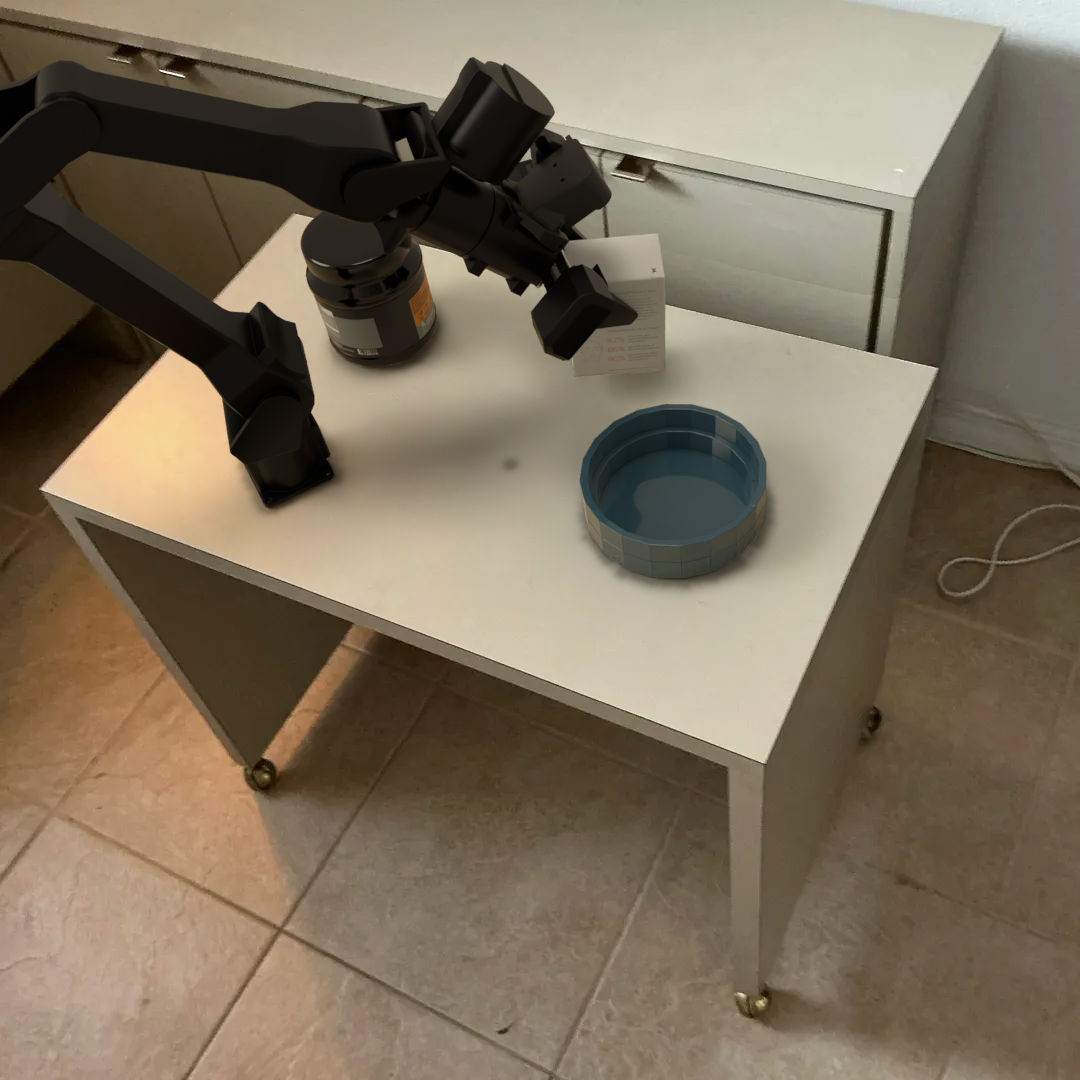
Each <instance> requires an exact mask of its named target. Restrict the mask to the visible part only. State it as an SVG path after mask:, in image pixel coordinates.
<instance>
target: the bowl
mask: <svg viewBox="0 0 1080 1080" xmlns="http://www.w3.org/2000/svg"><path fill="white" fill-rule="evenodd" d="M763 452H764V451H763V450H762V448H761V445H760V443H759V441H758V440H757V438H755V436H754V435H753V434H752V433H751V432H750V431H749V430H748V429H747V428H746V426H744V425H743V424H742V423H741V422H739V421H737V420H736V419H734V418H732V417H731V416H728V415H727V414H726V413H723V412H721V411H719V410H716V409H713V408H708V407H705V406H701V405H697V404H693V403H662V404H658V405H653V406H650V407H645V408H640V409H636V410H634V411H633V412H630V413H628V414H626V415H624V416H622V417H620V418H617V419H616V420H614V421H613V422H611V423H610V424H609V425H608V426H607V427H606V428H605V429H603V430H602V431H601V432H600V433H599V434H598V435H597V436H595V437H594V438H593V440H592V442H591V443H590V446H589V447H588V449H587V450H586V451H585V454H584V455H583V457H582V461H581V467H580V472H579V473H580V474H579V487H580V493H581V500H582V506H583V512H584V516H585V517H584V518H585V520H586V524H587V525H586V526H587V528H588V532H589V535H590V537H591V538H592V540H593V541H594V543H595V544H596V545H597V546H598V548H599V550H601V551H602V553H603V554H604V555H605V556H606V557H608V558H610V559H611V560H612V561H614V562H615V563H616V564H618V565H620V566H621V567H622V568H623V569H626V570H629V571H631V572H634V573H638V574H641V575H644V576H646V577H650V578H656V579H658V578H659V579H687V578H692V577H696V576H700V575H705V574H710V573H713V572H715V571H717V570H718V569H721V568H723V567H725V566H726V565H728V564H730V563H732V562H733V561H735V560H737V559H738V558H739V557H740V556H741V555H742V554H743V553H744V552H745V551H746V550H747V549H748V548H749V547H750V546H751V545H752V544H753V543H754V542H755V540H756V538H757V536H758V534H759V532H760V529H761V527H762V525H763V523H764V521H765V518H766V517H765V515H766V497H767V496H766V495H767V469H768V468H767V467H768V466H767V465H768V463H767V460H766V457H765V455H764V453H763Z"/></svg>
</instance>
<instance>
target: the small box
mask: <svg viewBox="0 0 1080 1080" xmlns="http://www.w3.org/2000/svg"><path fill="white" fill-rule="evenodd" d="M660 239H661V238H660V234H659V233H658V232H656V233H655V232H654V233H646V234H645V233H644V234H633V235H632V234H631V235H623V236H622V235H621V236H610V237H598V238H587V239H585V240H573V241H569V242H568V243H567V245H566V246H565V247H564V253H565V255H566V257H567V259H568V261H569V263H570V265H571V267H572V266H574V265H576V266H577V265H581V264H583V265H585V266H587V267H589V268H591V269H593V267H594V266H595V265H596V264H598V265H599V267H600V269H601V271H602V273H603V275H604V277H605V279H606V281H607V283H608V288H609V291H610V292H611V293H612V294H614V295H615V296H617V297H618V298H619V299H621V300H622V301H623V302H625V303H626V304H627V305H629V306H630V307H631V308H632V309H634V310H635V311H636V312H637V314H638V317H637V318H636V320H635V321H634V322H633V323H632V324H630V325H624V326H617V327H609V328H601V329H596V330H595V331H594V332H593V334H592V335H591V336H590V337H589V338H588V339H587V341H586V342H585V343H584V344H583V345H582V346H581V348H580V349H579V350H578V351H577V352H576V353H575V355H574V356H573V357H572V358H571V360H572V361H571V362H572V372H573V377H574V378H584V377H585V378H586V377H599V376H611V375H621V374H622V375H624V374H637V373H638V374H639V373H649V372H661V371H662V372H663V371H665V370H666V300H667V299H666V298H667V297H666V294H667V293H666V286H667V285H666V284H667V283H666V281H667V280H666V274H665V273H666V272H665V266H664V260H663V254H662V247H661V240H660Z"/></svg>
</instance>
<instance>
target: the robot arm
mask: <svg viewBox="0 0 1080 1080" xmlns="http://www.w3.org/2000/svg"><path fill="white" fill-rule="evenodd" d="M555 114H556V111H555V108H554V106H553V104H552V102H551V101H550V100H549V98H548V97H547V96H546V95H545V94H544V93H543V91H541V89H540V88H539V87H537V86H536V85H535V84H534V83H533V82H532V81H531V80H530V79H528V78H527V77H526V76H525V75H523V74H522V73H521V72H519V71H518V70H517V69H515V68H514V67H512V66H510V65H509V64H507V63H503V64H501V63H498V62H496V61H492V60H487V61H486V62H483V61H482V60H480V59H478V58H476V57H474V56H472V57H469V58H468V59H467V61H466V62H465V64H464V65H463V67H462V68H461V70H460V72H459V74H458V77H457V79H456V82H455V84H454V85H453V87H452V88H451V90H450V92H449V94H448V95H447V96H446V97H445V99H444V100H443V102H442V103H441V105H440V106H439V108H438V110H437V111H436V112H435V114H434V115H433V114H432V113H431V110H430V107H429V105H428V104H427V103H426V102H425V101H420V102H411V103H405V104H404V103H403V104H397V105H389V106H381V107H380V106H379V107H372V106H369V105H367V104H364V103H357V102H339V101H337V102H336V101H321V100H320V101H318V100H316V101H310V102H305V103H302V104H298V105H293V106H290V107H286V108H285V107H284V108H283V107H267V106H262V105H257V104H253V103H248V102H243V101H238V100H235V99H234V100H233V99H229V98H225V97H219V96H215V95H210V94H205V93H200V92H195V91H190V90H186V89H182V88H176V87H172V86H167V85H162V84H157V83H152V82H148V81H144V80H138V79H133V78H129V77H124V76H119V75H115V74H110V73H105V72H100V71H95V70H92V69H89V68H87V67H86V66H85V65H83V64H80V63H78V62H75V61H73V60H57V61H54V62H52V63H49V64H47V65H45V66H44V67H42V68H41V69H39V70H37V71H36V72H34V73H32V74H31V75H29V76H28V77H25V78H21V79H19V80H15V81H12V82H7V83H3V84H0V260H2V261H11V262H21V263H26V264H29V265H31V266H33V267H35V268H36V269H39V270H40V271H42V272H44V273H45V274H47V276H50V277H51V278H53V279H54V280H56V281H58V282H60V283H61V284H63V285H65V286H66V287H67V288H69V289H71V290H73V291H74V292H76V293H78V294H79V295H81V296H82V297H84V298H86V299H87V300H89V301H91V302H92V303H94V304H96V305H97V306H99V307H100V308H102V309H103V310H105V311H106V312H108V313H110V314H112V315H113V316H115V317H116V318H118V319H120V320H121V321H123V322H124V323H126V324H128V325H129V326H131V327H133V328H134V329H136V330H138V331H139V332H141V333H142V334H144V335H146V336H147V337H149V338H150V339H152V340H154V341H156V342H157V343H159V344H160V345H161V346H164V347H165V348H167V349H168V350H170V351H172V352H173V353H175V354H176V355H178V356H180V357H181V358H183V359H184V360H186V361H188V362H189V363H190V364H193V365H194V366H196V367H197V368H198V369H199V370H200V371H201V372H202V373H203V375H204V376H205V377H206V379H207V380H208V381H209V383H210V384H211V386H212V387H213V388H214V389H215V391H216V392H217V394H218V395H219V396H220V397H221V401H222V409H223V415H224V423H225V429H226V435H227V436H226V437H227V442H228V447H229V453H230V454H231V455H232V456H233V457H234V458H236V459H237V460H238V461H239V462H240V463H242V464H243V465H244V468H245V470H246V472H247V473H248V475H249V477H250V479H251V482H252V483H253V486H254V488H255V490H256V493H257V494H258V496H259V498H260V500H261V502H262V504H263V506H264V507H265V508H267V509H271V508H273V507H276V506H278V505H280V504H282V503H285V502H286V501H289V500H290V499H293V498H295V497H297V496H299V495H301V494H303V493H306V492H307V491H310V490H311V489H314V488H316V487H318V486H320V485H323V484H324V483H327V482H329V481H330V480H332V479H334V477H335V471H334V469H333V467H332V466H331V464H330V461H329V460H328V459H329V458H330V457H331V455H332V453H331V452H330V451H331V450H330V449H329V446H328V444H327V442H326V439H325V437H324V435H323V433H322V431H321V428H320V426H319V423H318V421H317V420H316V418H315V417H314V415H313V413H312V412H313V410H314V407H315V402H316V400H315V398H316V397H315V396H316V395H315V392H314V387H313V383H312V379H311V374H310V369H309V365H308V360H307V356H306V351H305V348H304V347H305V346H304V343H303V340H302V339H301V337H300V336H299V334H298V328H297V325H296V324H297V323H296V322H293V321H290V320H286V319H284V318H282V317H280V316H278V315H277V314H276V313H275V312H273V310H272V309H270V307H268V305H266V304H265V303H264V302H262V301H257V302H256V303H255V304H254V306H253V307H252V308H251V309H250V310H249V312H246V311H245V312H244V311H231V310H228V309H227V308H225V307H224V308H223V307H222V306H220V305H219V304H217V303H216V302H215V301H213V300H212V299H210V298H209V297H207V296H206V295H204V294H203V293H201V291H198V289H197V290H196V289H195V288H194V287H192V286H191V285H190V284H188V283H186V282H185V281H184V280H182V279H181V278H179V277H178V276H176V275H174V274H173V273H172V272H171V271H169V270H167V269H166V268H164V267H163V266H161V265H160V264H158V263H157V262H155V261H154V260H152V259H151V258H149V257H148V256H147V255H145V254H144V253H142V252H140V251H139V250H138V249H136V248H135V247H134V246H132V245H130V244H129V243H127V242H126V241H125V240H123V239H122V238H120V237H119V236H117V235H115V234H114V233H113V232H111V231H109V230H108V229H106V228H105V227H103V226H102V225H101V224H99V223H98V222H97V221H95V220H93V219H92V218H90V217H89V216H87V214H84V213H83V211H82V212H81V211H80V210H78V209H77V208H76V207H74V206H73V205H71V204H70V203H68V202H67V201H66V200H65V199H64V198H63V197H62V196H61V195H60V194H59V193H58V191H57V190H56V189H55V187H54V186H53V184H52V183H51V181H52V180H54V178H56V176H57V175H58V174H59V173H60V172H61V171H63V169H64V168H65V167H66V166H67V165H68V164H70V163H71V162H73V161H75V160H77V159H79V158H80V157H82V156H83V155H85V154H87V153H88V152H90V153H91V152H92V153H96V154H102V155H103V154H104V155H107V156H114V157H118V158H119V157H120V158H124V159H130V160H135V161H141V162H147V163H152V164H158V165H164V166H169V167H175V168H179V169H180V168H181V169H185V170H191V171H195V172H196V171H197V172H202V173H209V174H214V175H218V176H225V177H230V178H236V179H242V180H247V181H252V182H258V183H263V184H265V185H266V184H267V185H269V186H272V187H275V188H278V189H280V190H283V191H284V192H286V193H288V194H289V195H291V196H292V197H294V198H295V199H297V200H298V201H300V202H302V203H303V204H305V205H307V206H308V207H310V208H311V209H314V210H317V211H320V212H326V213H329V214H331V215H334V216H337V217H340V218H343V219H346V220H349V221H353V222H357V223H373V225H374V226H375V228H376V229H377V232H378V235H379V238H380V241H381V245H382V248H383V251H384V253H386V254H388V255H389V254H392V253H393V252H394V250H395V249H396V248H397V246H398V245H399V243H400V242H401V240H402V239H403V238H404V236H405V235H406V233H407V232H408V233H410V234H411V235H412V236H414V237H417V238H418V239H421V240H424V241H425V242H428V243H429V244H431V245H433V246H436V247H438V248H439V249H440V248H441V250H444V251H446V252H449V253H450V254H453V255H455V256H457V257H459V258H462V260H463V262H464V265H465V267H466V270H467V272H468V273H469V274H472V275H473V276H476V277H477V278H479V277H481V275H482V274H483V272H484V271H485V270H487V271H489V272H491V273H494V274H495V275H497V276H501V277H502V278H503V279H505V282H506V284H507V286H508V288H509V291H510V293H513V294H514V295H517V296H518V297H522V295H523V294H524V293H525V292H526V290H527V289H528V288H529V287H530V285H532V286H534V287H535V288H536V289H540V288H541V287H542V286H544V288H545V294H544V295H543V296H542V297H541V298H540V299H539V301H538V302H537V303H536V305H535V306H534V307H533V308H532V309H531V311H530V316H531V322H532V323H531V324H532V327H533V329H534V332H535V333H536V336H537V338H538V340H539V343H540V345H541V347H542V350H543V352H544V354H546V355H549V356H550V357H552V358H555V359H558V360H560V361H562V362H565V361H567V362H568V361H571V360H572V357H573V356H574V355H575V353H576V352H577V351H578V350H579V349H580V348H581V346H582V345H583V344H584V343H585V342H586V341H587V339H588V338H589V337H590V336H591V335H592V334H593V332H594V331H595V330H596V329H601V328H609V327H617V326H624V325H630V324H632V323H633V322H634V321H635V320H636V318H637V317H638V314H637V312H636V311H635V310H634V309H632V308H631V307H630V306H629V305H627V304H626V303H625V302H623V301H622V300H621V299H619V298H618V297H617V296H615V295H614V294H612V293H611V292H610V291H609V288H608V283H607V281H606V279H605V277H604V275H603V273H602V271H601V269H600V267H599V265H598V264H596V265H595V266H594V267H593V269H591V268H589V267H587V266H585V265H583V264H581V265H577V266H576V265H574V266H572V267H571V265H570V263H569V261H568V259H567V257H566V255H565V253H564V247H565V246H566V245H567V243H568V242H569V241H573V240H585V239H588V238H587V237H586V236H585V235H584V234H583V233H582V232H581V231H580V230H579V229H578V228H577V227H576V225H577V224H578V223H580V221H582V220H584V219H585V218H587V217H588V216H589V215H591V214H592V213H594V212H595V211H599V210H602V209H603V208H604V207H606V206H607V205H608V204H609V202H611V199H612V196H613V193H612V190H611V188H610V187H609V185H608V183H607V182H606V180H605V178H604V176H603V174H602V172H601V170H600V169H599V168H598V166H597V165H596V163H595V162H594V160H593V159H592V157H591V155H590V154H589V153H588V151H587V150H586V148H585V147H584V146H583V144H582V143H581V142H580V140H579V139H578V138H573V137H572V136H571V134H567V135H566V136H565V137H564V136H563V135H561V134H559V133H558V132H555V131H552V130H550V129H548V128H546V127H547V125H548V124H549V123H550V121H551V120H552V119H553V118H554V116H555ZM404 139H406V141H407V144H408V147H409V149H410V150H409V151H410V152H411V155H412V158H413V159H411V160H405V161H404V159H403V157H402V153H401V152H400V149H399V146H398V142H400V141H402V140H404ZM529 150H530V159H526V160H523V159H524V157H525V156H526V154H527V153H528V152H529ZM522 160H523V161H522Z"/></svg>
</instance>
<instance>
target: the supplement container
mask: <svg viewBox="0 0 1080 1080" xmlns="http://www.w3.org/2000/svg"><path fill="white" fill-rule="evenodd" d="M299 244H300V250H301V254H302V256H303V258H304V261H305V263H306V267H305V268H306V269H305V278H306V283H307V285H308V288H309V290H310V292H311V293H312V296H313V297H314V300H315V302H316V305H317V308H318V311H319V314H320V316H321V319H322V321H323V324H324V327H325V329H326V332H327V336H328V339H329V340H328V341H329V343H330V345H331V347H332V348H333V350H334V351H335V353H337V355H339V357H340V358H342V359H343V360H345V361H346V362H348V363H350V364H353V365H356V366H359V367H363V368H384V367H389V366H393V365H397V364H400V363H402V362H405V361H407V360H409V359H411V358H413V357H415V356H416V355H417V354H419V353H420V352H421V351H423V349H425V347H427V345H428V344H429V343H430V341H432V339H433V337H434V335H435V333H436V330H437V327H438V320H439V319H438V318H439V317H438V310H437V306H436V304H435V301H434V299H433V295H432V291H431V287H430V283H429V280H428V276H427V272H426V269H425V264H424V257H423V256H424V255H423V252H422V251H423V250H422V247H421V245H420V243H419V242H418V240H417V239H416V238H415V236H414V235H412V234H410V233H408V232H407V233H406V235H405V236H404V238H403V239H402V240H401V242H400V243H399V245H398V246H397V248H396V249H395V250H394V252H393V253H392V254H389V255H388V254H386V253H384V251H383V248H382V245H381V241H380V238H379V235H378V232H377V229H376V228H375V226H374V225H373V223H357V222H353V221H349V220H346V219H343V218H340V217H337V216H334V215H331V214H329V213H326V212H323V211H320V213H318V214H317V215H316V216H314V218H312V219H311V220H310V221H309V223H308V224H307V225H306V226H305V228H304V230H303V231H302V233H301V237H300V243H299Z"/></svg>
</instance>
